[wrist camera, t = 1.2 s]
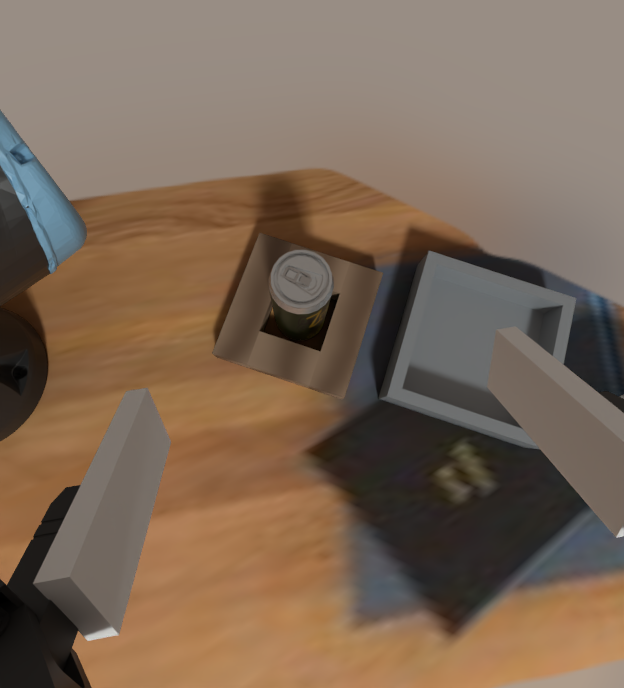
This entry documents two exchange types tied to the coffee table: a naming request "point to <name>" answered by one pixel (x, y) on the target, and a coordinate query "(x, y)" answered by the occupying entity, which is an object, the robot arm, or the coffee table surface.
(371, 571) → the coffee table surface
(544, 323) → the bin
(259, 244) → the socket block
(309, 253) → the beer can
